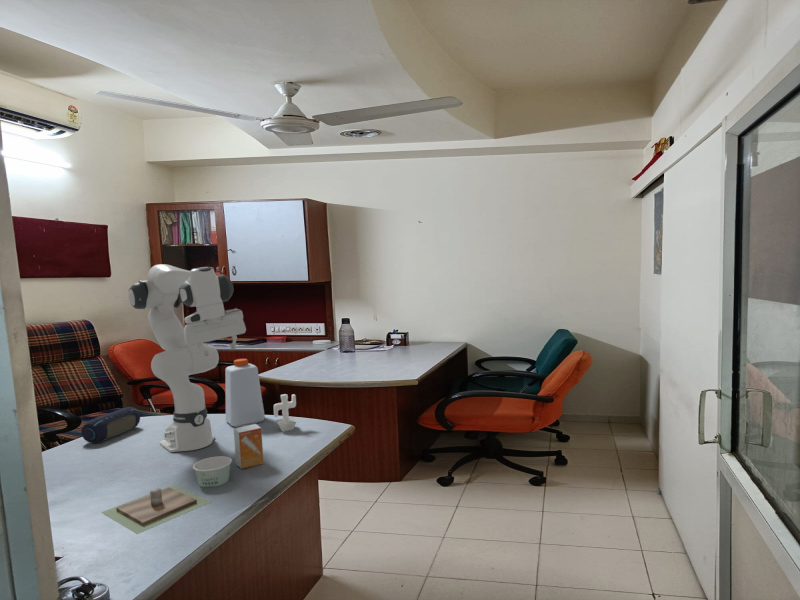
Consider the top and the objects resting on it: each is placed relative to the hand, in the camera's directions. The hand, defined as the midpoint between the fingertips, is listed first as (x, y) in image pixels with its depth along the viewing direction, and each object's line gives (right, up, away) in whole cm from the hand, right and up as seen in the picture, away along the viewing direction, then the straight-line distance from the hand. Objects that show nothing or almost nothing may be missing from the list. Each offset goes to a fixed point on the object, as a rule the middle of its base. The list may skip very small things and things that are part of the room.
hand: (219, 352), depth 184 cm
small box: (+10, -40, +3) cm, 41 cm away
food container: (+2, -41, -11) cm, 43 cm away
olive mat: (-9, -43, -28) cm, 52 cm away
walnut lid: (-9, -43, -28) cm, 52 cm away
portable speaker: (-60, -40, +44) cm, 85 cm away
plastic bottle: (-7, -37, +54) cm, 66 cm away
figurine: (+15, -37, +40) cm, 56 cm away
